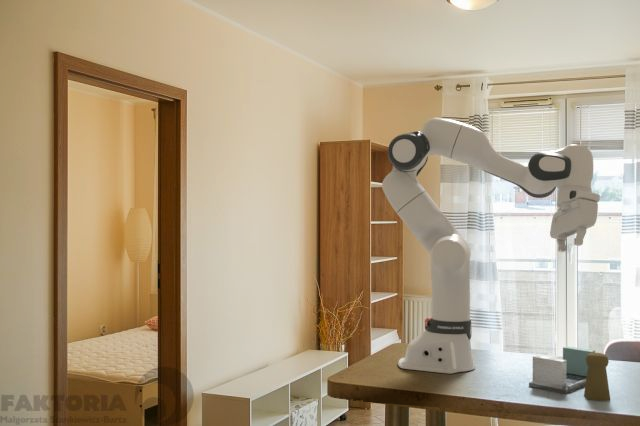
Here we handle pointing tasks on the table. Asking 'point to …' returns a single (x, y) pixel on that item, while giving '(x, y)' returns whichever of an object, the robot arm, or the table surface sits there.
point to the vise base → (554, 376)
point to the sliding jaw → (576, 360)
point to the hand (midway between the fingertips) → (569, 248)
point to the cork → (597, 377)
